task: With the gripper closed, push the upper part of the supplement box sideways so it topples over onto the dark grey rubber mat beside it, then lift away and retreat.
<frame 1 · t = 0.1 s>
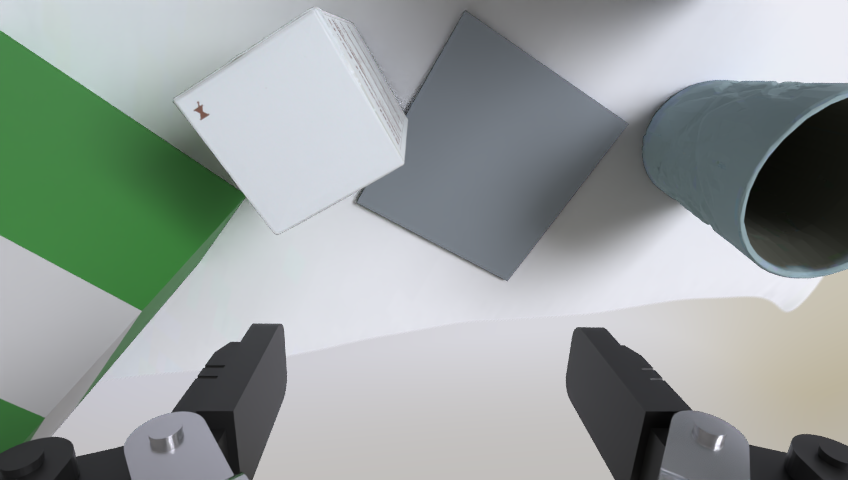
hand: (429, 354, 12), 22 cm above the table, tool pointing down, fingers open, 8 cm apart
blue-grey plant pot: (697, 136, 33), on the table
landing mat: (488, 162, 33), on the table
supplement box: (338, 99, 31), on the table, touching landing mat
hardback book: (111, 159, 32), on the table
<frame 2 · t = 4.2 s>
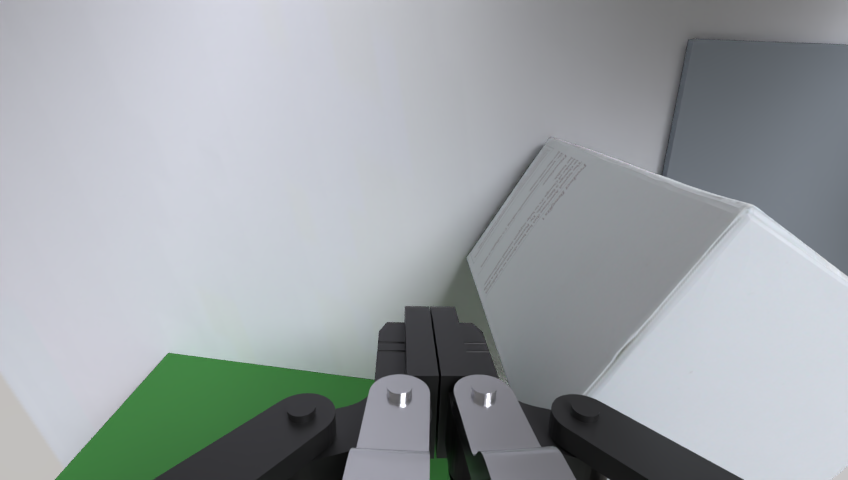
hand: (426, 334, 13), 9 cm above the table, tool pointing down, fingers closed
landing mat: (791, 207, 22), on the table
supplement box: (564, 233, 22), on the table, touching gripper, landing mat
hardback book: (328, 427, 26), on the table
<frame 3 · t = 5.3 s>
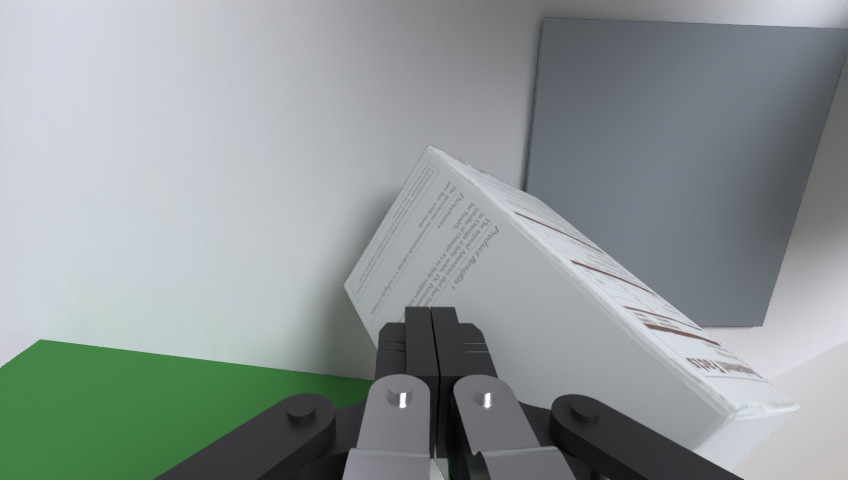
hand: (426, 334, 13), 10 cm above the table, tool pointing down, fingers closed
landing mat: (663, 190, 22), on the table
supplement box: (441, 233, 20), point 2 cm above the table, touching gripper, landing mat
hardback book: (214, 414, 26), on the table
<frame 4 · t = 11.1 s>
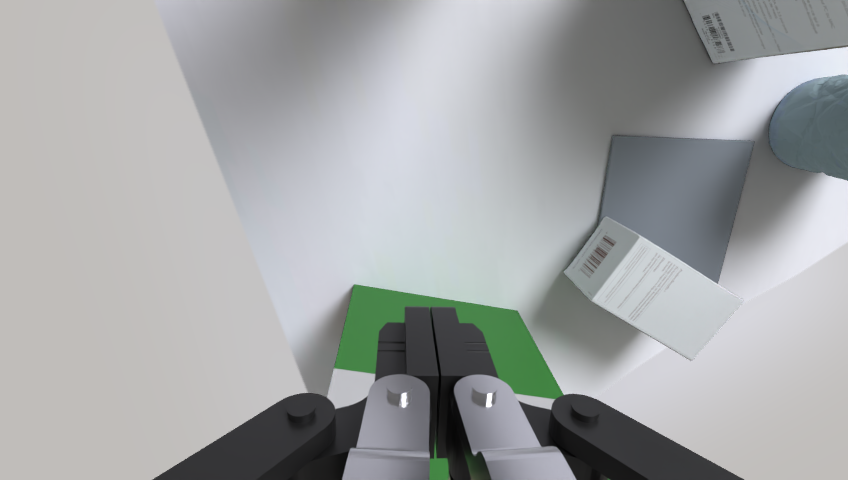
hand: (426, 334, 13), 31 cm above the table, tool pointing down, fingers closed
blue-grey plant pot: (808, 121, 44), on the table
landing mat: (666, 213, 46), on the table
supplement box: (595, 253, 42), point 4 cm above the table, touching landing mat
hardback book: (430, 327, 48), on the table
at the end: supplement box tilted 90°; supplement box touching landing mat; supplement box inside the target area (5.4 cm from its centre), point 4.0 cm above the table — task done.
